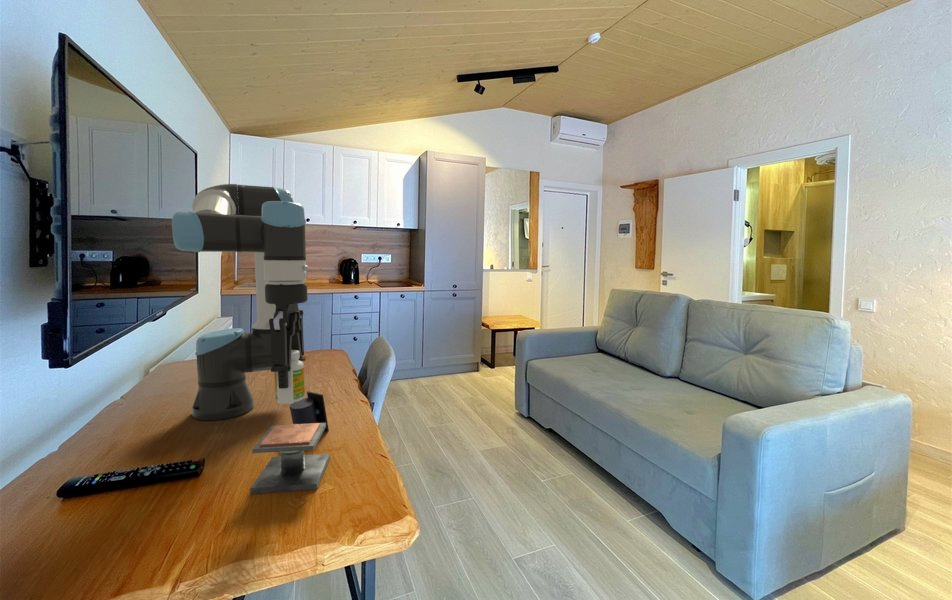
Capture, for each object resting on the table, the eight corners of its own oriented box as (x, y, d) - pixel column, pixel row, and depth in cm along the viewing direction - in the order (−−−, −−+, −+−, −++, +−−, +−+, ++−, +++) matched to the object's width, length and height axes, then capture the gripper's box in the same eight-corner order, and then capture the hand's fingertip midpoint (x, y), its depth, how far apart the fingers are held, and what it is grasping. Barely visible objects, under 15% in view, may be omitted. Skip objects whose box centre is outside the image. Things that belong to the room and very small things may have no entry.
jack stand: (272, 462, 88) (270, 422, 87) (329, 458, 90) (328, 419, 89) (250, 494, 76) (248, 448, 75) (317, 489, 78) (315, 444, 77)
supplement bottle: (293, 404, 78) (291, 355, 77) (269, 402, 79) (267, 354, 78) (310, 395, 83) (308, 349, 82) (287, 393, 84) (285, 348, 83)
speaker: (320, 423, 108) (315, 387, 106) (329, 431, 104) (324, 394, 102) (290, 434, 103) (285, 396, 101) (299, 443, 99) (293, 404, 96)
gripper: (292, 285, 70) (297, 414, 73) (317, 280, 88) (320, 383, 91) (246, 285, 69) (252, 416, 71) (281, 280, 87) (285, 384, 89)
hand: (290, 397), depth 81 cm, fingers closed on supplement bottle, 5 cm apart
